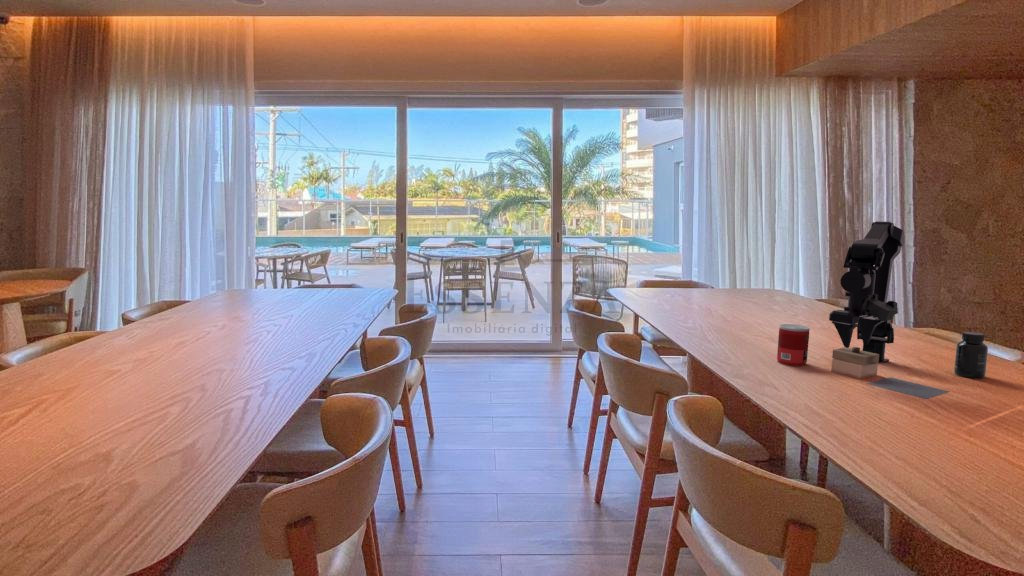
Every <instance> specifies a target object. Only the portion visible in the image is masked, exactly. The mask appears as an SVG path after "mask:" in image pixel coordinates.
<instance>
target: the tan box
mask: <svg viewBox="0 0 1024 576" xmlns="http://www.w3.org/2000/svg"><path fill="white" fill-rule="evenodd" d="M878 367H879V363H876V364H872V365H867V366H863V365H859V364H855V363H850V362H846V361H842V360H838V359H833V358H832V359H831V371H830V372H831V373H835V374H839V375H842V376H847V377H850V378H855V379H859V380H863V379H867V378H870V377H875V376H877V374H878Z"/></svg>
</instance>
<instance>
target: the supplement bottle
mask: <svg viewBox="0 0 1024 576" xmlns="http://www.w3.org/2000/svg"><path fill="white" fill-rule="evenodd" d="M985 335H986V334H984V333H981V332H974V331H962V333H961V341H959V342H957V344H956V347H955V358H954V359H955V360H954V368H953V369H954V370H953V373H954V375H956V374H957V375H956V376H958V375H959V376H958V377H962V376H963V378H966V377H969V378H968V379H975V378H981V379H984V378H985V377H986V372H987V364H988V363H987V361H988V353H989V352H988V351H989V347H988V345H986V344H985V343H984V342H985V337H986V336H985Z"/></svg>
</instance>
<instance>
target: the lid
mask: <svg viewBox="0 0 1024 576" xmlns="http://www.w3.org/2000/svg"><path fill="white" fill-rule="evenodd" d="M831 355H832V357H831V358H832V359H838V360H842V361H846V362H850V363H855V364H859V365H863V366H867V365H872V364H876V363H878V364H880V363H879V354H875V353H871V352H866V351H862V349H861V347H858V346H852V348H851V347H849V348H846V347H841V348H836V349H832V354H831Z"/></svg>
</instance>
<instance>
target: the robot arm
mask: <svg viewBox="0 0 1024 576" xmlns="http://www.w3.org/2000/svg"><path fill="white" fill-rule="evenodd" d="M905 238H906V236H905V233H904V230H903V229H902V228H900V227H898V226H896V225H895V224H894V222H891V221H878V220H877V221H875V222H874V221H873V222H872V223H871V227H870V229H869V230H868V232H867V233H866V234H865V236H864V238H862V239H859V240H855V241H854V242H853V243H852V244H851V246H849V247H848V249H847V253H846V257H845V260H844V263H843V266H842V267H843V268H844V269H849V271H846V272H845V273H843V275H842V276H841V277H840V280H839V281H840V286H841V288H842V289H843V290H844V291H846V292H845V297H848V302H847V306H844V307H843V309H836V310H832V311H831V312H829V314H828V315H829V317H828V321H831V324H833V326H834V328H835V329H836V331H837V333H838V336H839V338H840V340H841V342H842V344H843V348H845V347H846V348H850V345H851V341H852V337H853V334H854V333H853V332H854V330H855V329H856V337H857V339H856V340H862V349H861V351H866V352H871V353H875V354H879V363H878V364H880V363H886V362H887V363H888V362H890V359H888V358H885V352H886V344H889V345H890V344H894V342H895V329H894V327H893V323H891V322H892V320H893V318H894V316H895V315H898V313H899V311H898V310H899V308H898V302H897V301H894V300H888V296H889V289H890V282H891V275H892V268H893V261H894V260H895V259H896V258H897V257H898V256H899V255H900V254H901V251H902V247H904V245H905V241H906V240H905Z"/></svg>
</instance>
